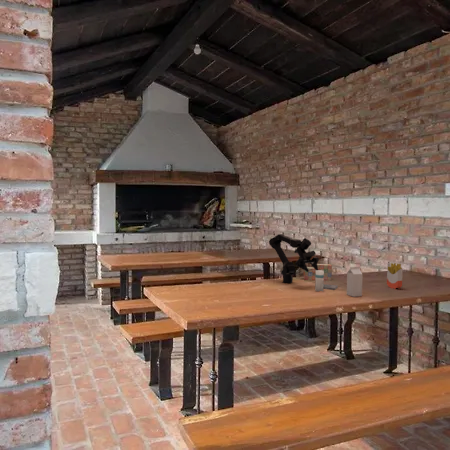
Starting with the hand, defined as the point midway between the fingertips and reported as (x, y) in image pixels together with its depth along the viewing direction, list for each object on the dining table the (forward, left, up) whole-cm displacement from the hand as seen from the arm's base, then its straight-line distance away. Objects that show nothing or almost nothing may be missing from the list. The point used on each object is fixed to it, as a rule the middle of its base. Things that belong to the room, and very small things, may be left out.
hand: (313, 271), depth 300 cm
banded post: (+5, -3, -13) cm, 14 cm away
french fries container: (+52, +31, -13) cm, 62 cm away
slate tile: (+8, +10, -13) cm, 18 cm away
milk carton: (+29, -7, -13) cm, 33 cm away
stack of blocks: (-5, +38, -13) cm, 41 cm away
